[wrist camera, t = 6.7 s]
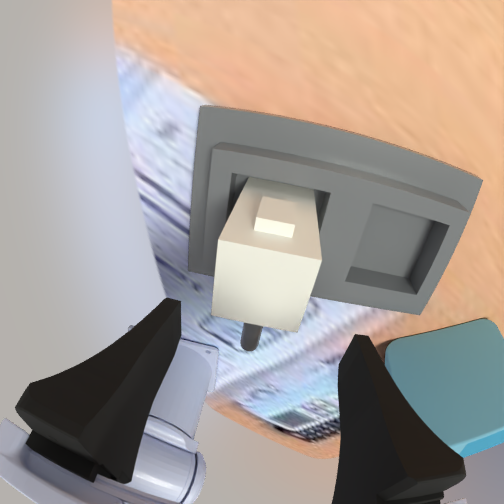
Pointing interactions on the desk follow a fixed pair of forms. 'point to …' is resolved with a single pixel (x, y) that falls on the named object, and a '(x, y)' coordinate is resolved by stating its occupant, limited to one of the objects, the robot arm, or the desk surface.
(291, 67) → the desk surface
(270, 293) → the plug
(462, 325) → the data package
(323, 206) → the jack panel
